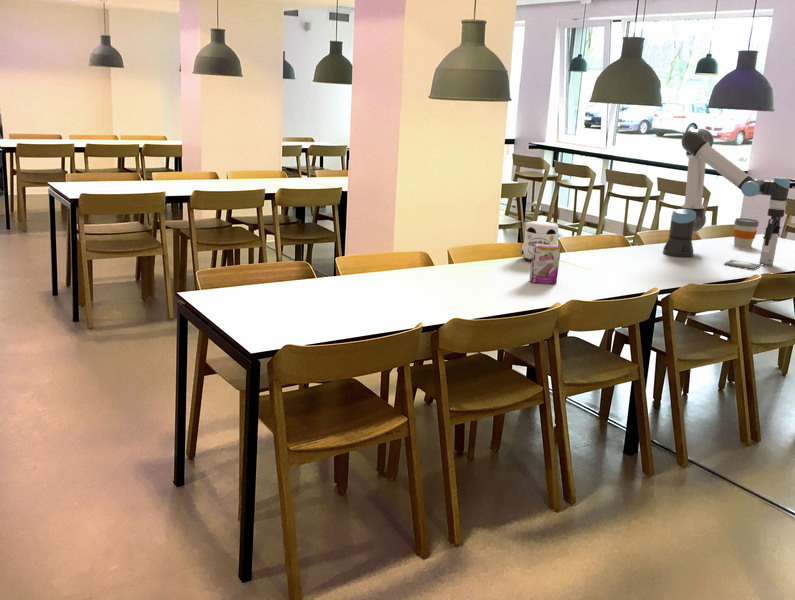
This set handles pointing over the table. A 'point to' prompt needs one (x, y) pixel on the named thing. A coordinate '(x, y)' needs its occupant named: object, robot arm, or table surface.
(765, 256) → the travel mug
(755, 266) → the pad
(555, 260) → the candy bar box
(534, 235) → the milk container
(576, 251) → the table surface
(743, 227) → the reusable coffee cup
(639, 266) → the table surface
